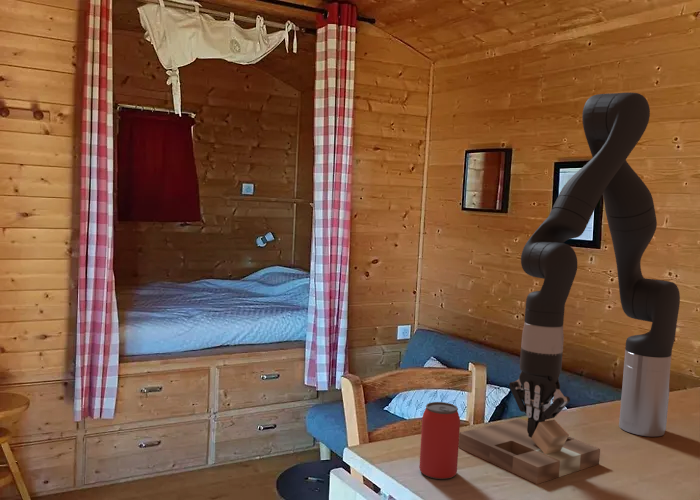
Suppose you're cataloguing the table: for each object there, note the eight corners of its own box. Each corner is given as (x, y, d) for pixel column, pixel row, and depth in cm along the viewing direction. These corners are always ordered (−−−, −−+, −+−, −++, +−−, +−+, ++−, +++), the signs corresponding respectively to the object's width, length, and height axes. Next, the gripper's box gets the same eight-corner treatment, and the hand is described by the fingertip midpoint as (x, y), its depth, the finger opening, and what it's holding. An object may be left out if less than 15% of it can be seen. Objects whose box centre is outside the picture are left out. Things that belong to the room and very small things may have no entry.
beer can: (433, 483, 113) (437, 414, 112) (412, 468, 119) (415, 402, 118) (464, 477, 116) (468, 410, 115) (442, 463, 122) (446, 399, 121)
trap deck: (519, 432, 141) (520, 418, 140) (599, 464, 125) (600, 448, 125) (458, 447, 130) (459, 432, 130) (536, 484, 115) (538, 467, 115)
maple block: (546, 435, 126) (554, 419, 124) (560, 450, 123) (569, 434, 121) (531, 438, 124) (539, 422, 122) (545, 454, 121) (553, 437, 119)
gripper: (584, 353, 121) (576, 445, 123) (527, 338, 132) (520, 423, 134) (558, 357, 117) (550, 453, 119) (501, 341, 128) (495, 429, 129)
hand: (534, 437), depth 126 cm, fingers closed
